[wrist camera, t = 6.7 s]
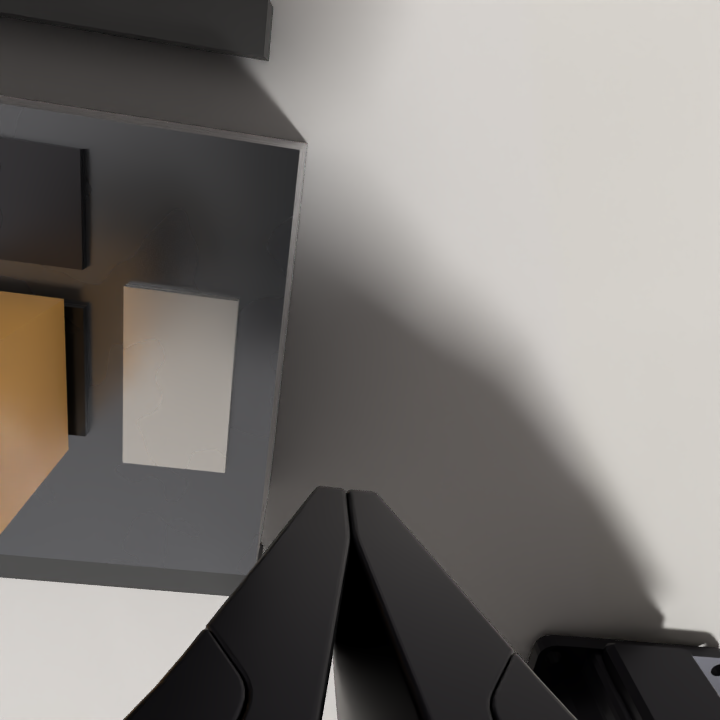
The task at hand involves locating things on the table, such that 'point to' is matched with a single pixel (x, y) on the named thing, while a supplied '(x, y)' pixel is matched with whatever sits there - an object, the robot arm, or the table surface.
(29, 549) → the strip
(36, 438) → the lever
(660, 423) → the table surface
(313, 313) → the table surface
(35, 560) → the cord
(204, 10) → the dark grey thin bar
